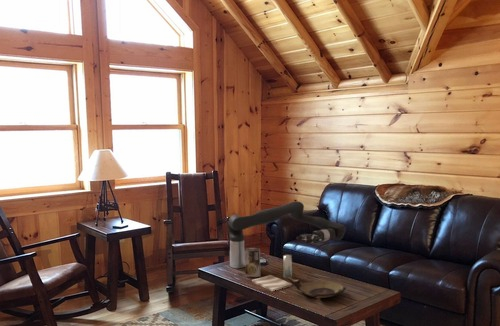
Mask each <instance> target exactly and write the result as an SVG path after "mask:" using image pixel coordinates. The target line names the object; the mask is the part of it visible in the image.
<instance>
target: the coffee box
mask: <svg viewBox="0 0 500 326" xmlns="http://www.w3.org/2000/svg"><path fill="white" fill-rule="evenodd" d="M244 259H245V266H244V272H245V273H244V277H252V278H253V277H255V278H256V277H257V278H258V277H259V278H261V248H260V247H245V248H244Z"/></svg>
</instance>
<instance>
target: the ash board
mask: <svg viewBox="0 0 500 326" xmlns="http://www.w3.org/2000/svg"><path fill="white" fill-rule="evenodd" d="M251 282H252V283H253V284H255V285H257V286H259V285H260V286H259V287H262V288H264V289H266V290H268V291H270V292H275V290H276V291H279V290H283V289H286V288H289V287H293V286H292V285H293V284H292V283H291V282H288V281H286V280H284V279H281V278H280V277H276V276H274V275H271V274H270V275H265V276H263V277H262V276H260V277H259V278H258V277H257V278H254V279H251ZM282 288H283V289H282Z"/></svg>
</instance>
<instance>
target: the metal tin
mask: <svg viewBox="0 0 500 326" xmlns="http://www.w3.org/2000/svg"><path fill="white" fill-rule="evenodd" d="M282 256H283V257H282V259H283V260H282V263H283V271H282V272H283V273H282V274H283V279H286V280H288V277H290V278H292V279H293V266H292V264H293V263H292V262H293V258H292V257H293V256H292V254H284V255H282Z"/></svg>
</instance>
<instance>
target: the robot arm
mask: <svg viewBox="0 0 500 326" xmlns="http://www.w3.org/2000/svg"><path fill="white" fill-rule="evenodd" d="M304 208H305V206H304V204H303V202H300V201H292V202H288V203H286V204H283V205H278V206H275V207H270V208H267V209H266V208H265V209H262V210H259V211H257V212H256V213H253V214H251V215H245V216H240V215H238V214H233V215H231V216H230V217H229V218H228V235H229V266H230V268H232V269H242V268H245V235H244V233H243V230H246V229H249V228H252V227H257V226H261V225H267V224H270V223H273V222H277V221H278V220H279V219H281V218H282V217H284V216H286V215H288V216H289V218H292V219H293V220H295V221H298V222H302V223H305V224H308V225H311V226H314V227H316V228H318V229H319V230H317V229H316V230H314V231H312V233H309V234H308V233H302V234H299V235H298V236H296V241H303V240H304V241H305V244H310V243H312V244H319V243H323V242H327V241H330V240H335V241H341V240H342V239H343V238H344V237H345V233H346V231H347V228H346V226H345V225H344V224H343V223H339V222H334V221H330V220H328V219H326V218H324V217H321V216H312V215H311V216H310V215H307V214H305V213H304V210H305V209H304Z"/></svg>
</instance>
